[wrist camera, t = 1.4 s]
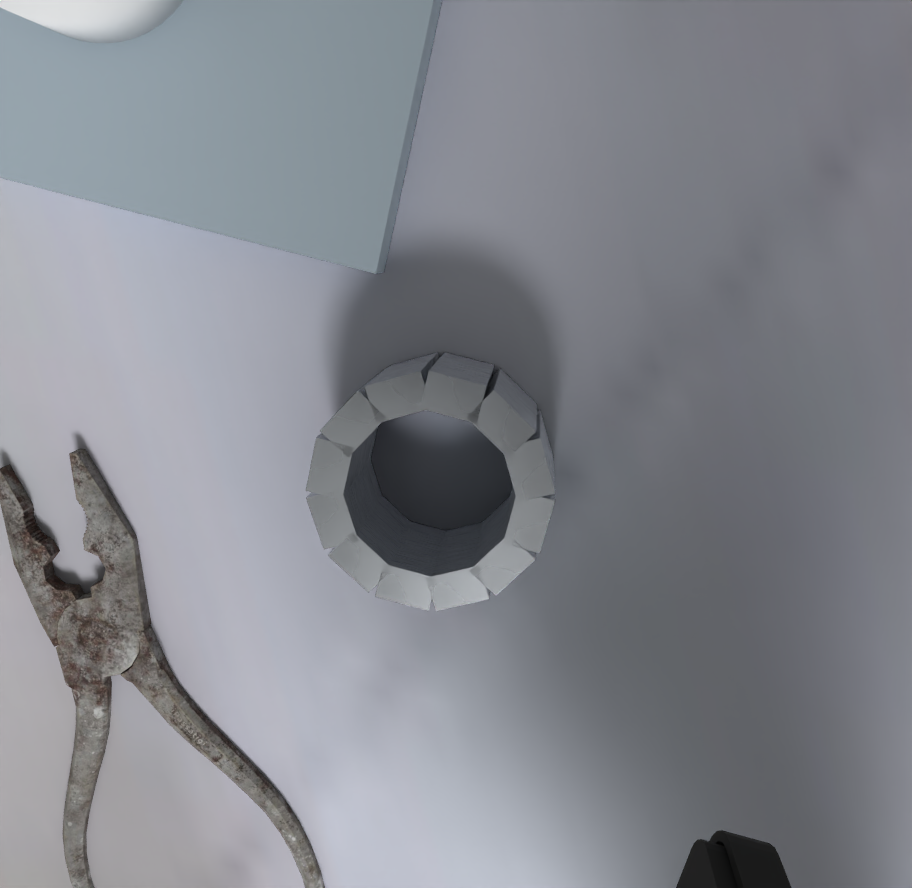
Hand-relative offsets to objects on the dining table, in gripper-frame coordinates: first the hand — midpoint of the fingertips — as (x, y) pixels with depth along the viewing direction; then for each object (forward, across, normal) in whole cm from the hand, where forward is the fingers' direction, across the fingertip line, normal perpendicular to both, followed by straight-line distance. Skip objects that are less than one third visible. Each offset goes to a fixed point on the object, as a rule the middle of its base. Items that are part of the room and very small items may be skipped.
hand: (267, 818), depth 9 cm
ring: (+16, 0, 0) cm, 16 cm away
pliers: (+16, +9, +13) cm, 23 cm away
